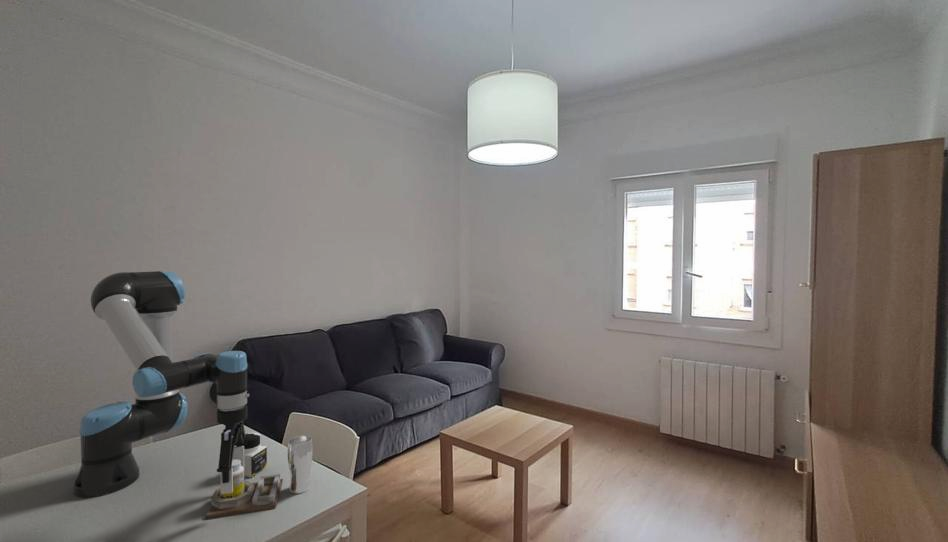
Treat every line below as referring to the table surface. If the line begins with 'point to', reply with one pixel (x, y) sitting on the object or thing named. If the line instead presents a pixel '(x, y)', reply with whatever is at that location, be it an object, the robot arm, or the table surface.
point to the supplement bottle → (236, 480)
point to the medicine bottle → (254, 455)
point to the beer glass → (300, 463)
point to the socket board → (246, 505)
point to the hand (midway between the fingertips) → (233, 479)
